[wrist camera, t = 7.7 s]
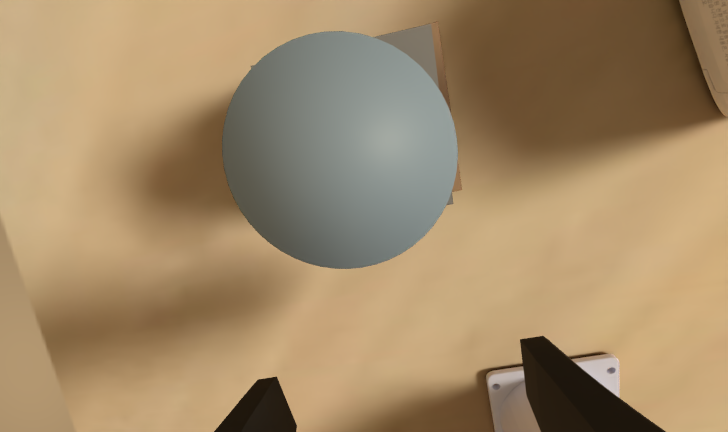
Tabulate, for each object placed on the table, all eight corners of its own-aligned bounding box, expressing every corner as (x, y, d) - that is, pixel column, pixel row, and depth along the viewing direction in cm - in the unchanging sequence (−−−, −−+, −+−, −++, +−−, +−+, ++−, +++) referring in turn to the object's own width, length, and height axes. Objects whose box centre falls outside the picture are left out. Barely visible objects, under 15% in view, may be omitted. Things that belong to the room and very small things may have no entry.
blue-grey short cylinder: (438, 192, 12) (470, 250, 8) (306, 216, 13) (261, 283, 8) (417, 43, 11) (440, 2, 6) (268, 77, 12) (187, 64, 7)
